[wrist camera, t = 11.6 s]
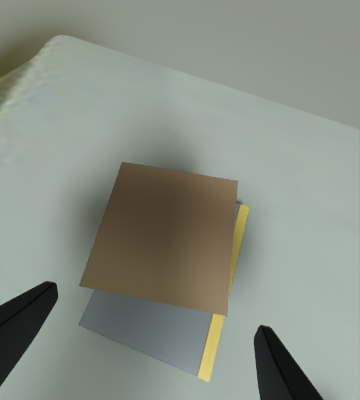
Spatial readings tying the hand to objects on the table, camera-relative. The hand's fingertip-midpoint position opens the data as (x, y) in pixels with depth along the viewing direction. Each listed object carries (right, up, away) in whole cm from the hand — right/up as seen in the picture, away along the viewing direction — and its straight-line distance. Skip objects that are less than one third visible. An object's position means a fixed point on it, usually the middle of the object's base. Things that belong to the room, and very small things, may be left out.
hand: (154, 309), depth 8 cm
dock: (0, -2, +13) cm, 13 cm away
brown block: (0, -1, +11) cm, 11 cm away
